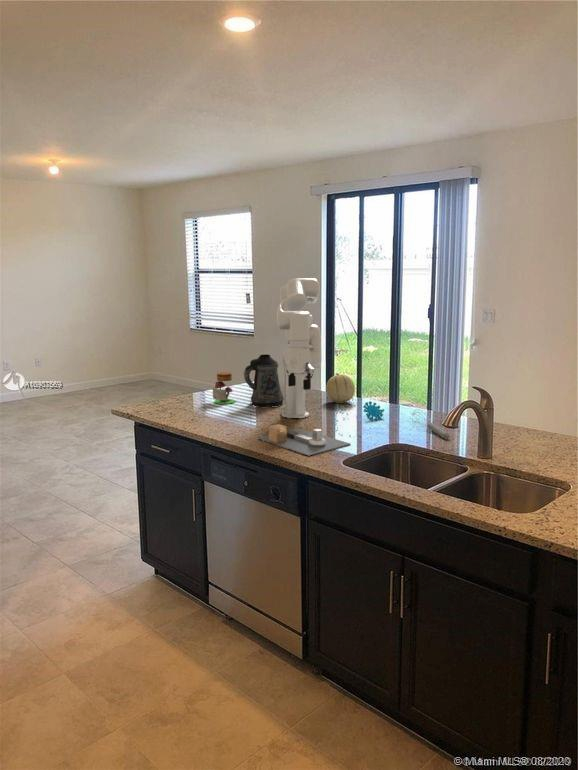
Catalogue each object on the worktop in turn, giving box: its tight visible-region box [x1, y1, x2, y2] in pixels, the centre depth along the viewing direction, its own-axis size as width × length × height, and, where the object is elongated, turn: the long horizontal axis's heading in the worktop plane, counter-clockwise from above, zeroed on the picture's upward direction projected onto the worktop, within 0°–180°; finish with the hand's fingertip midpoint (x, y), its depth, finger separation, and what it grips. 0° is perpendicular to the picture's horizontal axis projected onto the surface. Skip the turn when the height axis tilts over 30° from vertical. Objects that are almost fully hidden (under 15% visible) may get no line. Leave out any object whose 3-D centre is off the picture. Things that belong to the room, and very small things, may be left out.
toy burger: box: [211, 371, 236, 405], centre depth 305 cm, size 12×13×15 cm
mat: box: [257, 428, 351, 457], centre depth 235 cm, size 30×22×1 cm
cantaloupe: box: [325, 373, 356, 404], centre depth 302 cm, size 15×15×15 cm
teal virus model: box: [362, 401, 385, 421], centre depth 272 cm, size 11×6×10 cm
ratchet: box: [287, 428, 326, 447], centre depth 235 cm, size 24×6×6 cm, turn 41°
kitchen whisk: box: [409, 408, 451, 440], centre depth 252 cm, size 6×34×6 cm, turn 13°
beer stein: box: [243, 354, 285, 408], centre depth 297 cm, size 16×19×25 cm
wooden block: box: [268, 423, 288, 444], centre depth 234 cm, size 5×5×6 cm
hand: (299, 387), depth 236 cm, fingers open, 9 cm apart
